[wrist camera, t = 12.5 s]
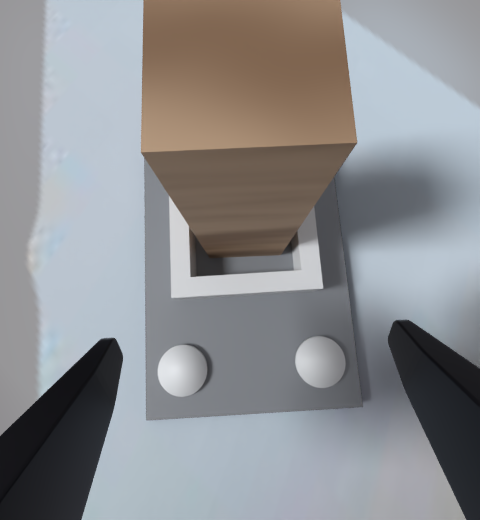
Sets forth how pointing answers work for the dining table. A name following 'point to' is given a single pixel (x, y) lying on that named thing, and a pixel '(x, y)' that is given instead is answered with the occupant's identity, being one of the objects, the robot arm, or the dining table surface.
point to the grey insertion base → (246, 319)
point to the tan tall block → (245, 114)
